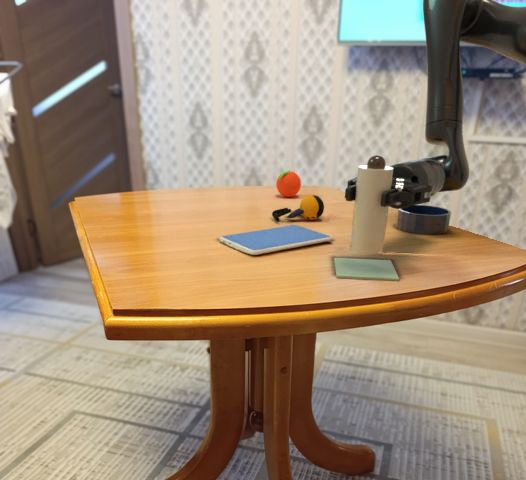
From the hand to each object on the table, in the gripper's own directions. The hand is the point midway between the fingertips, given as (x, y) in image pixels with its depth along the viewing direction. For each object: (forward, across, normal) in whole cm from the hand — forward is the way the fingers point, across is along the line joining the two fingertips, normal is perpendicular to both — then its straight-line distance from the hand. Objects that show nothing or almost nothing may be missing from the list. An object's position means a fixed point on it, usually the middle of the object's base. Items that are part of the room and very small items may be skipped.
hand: (365, 197), depth 79 cm
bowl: (-36, -3, +12) cm, 38 cm away
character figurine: (-27, -29, +13) cm, 41 cm away
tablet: (-7, -21, +13) cm, 26 cm away
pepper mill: (-3, 0, +9) cm, 9 cm away
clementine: (-48, -47, +13) cm, 69 cm away
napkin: (-2, 0, +12) cm, 13 cm away
